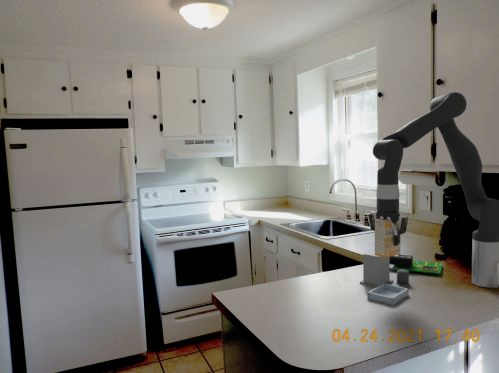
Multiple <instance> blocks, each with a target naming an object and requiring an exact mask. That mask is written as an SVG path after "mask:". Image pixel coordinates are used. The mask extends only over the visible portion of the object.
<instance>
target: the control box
mask: <svg viewBox="0 0 499 373" xmlns="http://www.w3.org/2000/svg"><path fill="white" fill-rule="evenodd" d="M362 255H363V256H362V258H363V259H362V262H363V263H362V264H363V268H362V269H363V270H362V272H363V276H362V277H363V280H360V281H359V284H360V285H362V286H363V285H364V286H369V287H372V288H376V287H378V286H380V285H382V284H384V283H385V284H389V285H392V284H393V282H394V279H390V278H391V276H390V272H391V271H390V270H391V269H390V266H391V264H390V257H386V258H383V257H379V256H376V255H375V249H373V250H370V252H369V251H367V252H366V253H365V252H364V253H363V254H362Z"/></svg>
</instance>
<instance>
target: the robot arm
mask: <svg viewBox="0 0 499 373" xmlns="http://www.w3.org/2000/svg"><path fill="white" fill-rule="evenodd" d="M467 105H468V104H467V99H466V97H465V96H464V95H463V94H462V93H460V92H457V91H456V92H455V91H454V92H448V93H446V94H442V95H439V96H437V97H434V98H433V99H432V100H431V102H430V104H429V109H430V110H429V112H427V113H425V114H423V115H421V116H419V117H417V118H415V119H414V120H411V121H410V122H408V123H406V124H405V125H404V126H402V127H400V128H399V129H398V130H397V131H395V132H393V133H391V134H389V135H386V136H384V137H383V138H381V139H379V140H377V142H375V143H374V145H373V148H372V154H373V156H374V157H375V159H377V160H380V161H384V165H383V166H382V167H380V168H378V169H377V171H376V172H377V174H376V175H377V176H376V177H377V178H376V179H377V180H376V181H377V182H376V184H377V185H376V186H377V187H376V213H370V214H368V220H369V225H370V231H374V232H375V219H387V220H390V222H391V229H392V230H393V232H394V234H395V235H394V246H397V245H399V244H400V245H401V242H400V235H401V236H402V235H403V234H406V232H407V229H408V221H409V217H408V216H402V215H401V214H400V196H401V195H400V186H399V172H400V169H401V164H402V161H403V157H404V149H407V148H409V147H411V146H413V145H414V144H416V143H417V142H419V141H420V140H421V139H422V138H423V137H425V136H426V135H428V134H429V133H430V132H432V131H434V130H436V129H438V131H439V132H440V135H441V137H442V139H443V142H444V144H445V146H446V149H447V152H448V154H449V158H450V160H451V162H452V165H453V167H454V170H455V172H456V175H457V177H458V180H459V182H460V185H461V188H462V190H463V193H464V194H463V195H464V199H465V202H466V206H467V210H468V212H469V214H470V216H471V218H473V219H475V220H476V221H479V224H478V229H477V230H474V231H472V243H471V244H472V245H471V246H472V250H471V252H472V253H471V254H472V255H471V283H472V284H473V285H475V286H477V287H483V288H493V289H498V288H499V199H495V198H490V197H488V196H487V194H486V193H485V189H484V187H483V184H482V174H483V162H482V159H481V156H480V154H479V150H478V148H477V147H476V145H475V144H474V143H473V142H472V141H471V140H470V138H468V137H467V136H466V135H465V134H464V133H463V132H462V131H461V130H460V129H459V128H458V126H457V124H456V122H455V119H456V118H459V117H460V116H461V115H463V113H464V112H465V110H467ZM399 219H400V222H401V226H400V229H399V225H398V223H397V226H395V225H394V224H396V222H397V221H398V220H399Z"/></svg>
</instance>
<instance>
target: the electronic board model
mask: <svg viewBox="0 0 499 373" xmlns="http://www.w3.org/2000/svg"><path fill="white" fill-rule="evenodd" d="M370 251H371V250H370ZM370 251H368V252H370ZM391 265H392V270H396V271H397V270H399V269H404V270H408V271H409V274H411V273H412V272H419V273H426V274H437V275H441V271H442V268H443V262H432V261H431V262H430V261H422V260H414V255H407V254H405V255H404V254H400V255H395V256H390V266H391Z"/></svg>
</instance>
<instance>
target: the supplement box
mask: <svg viewBox="0 0 499 373" xmlns="http://www.w3.org/2000/svg"><path fill="white" fill-rule="evenodd" d="M397 223H398V225H399V229H400V226H401V222H400V219H399V220H398V221H397V222H396V224H394V225H395V226H397ZM394 235H395V234H394V232H393V230H392V229H391V222H390V220H387V219H378V218H376V219H375V231H374V250H375V255H376V256H379V257H383V258H386V257H390V256H398V255H401V243H402V242H401V241H402V240H401V239H402V238H401V237H402V234H401V235H400V244H399V245H397V246H394Z"/></svg>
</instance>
